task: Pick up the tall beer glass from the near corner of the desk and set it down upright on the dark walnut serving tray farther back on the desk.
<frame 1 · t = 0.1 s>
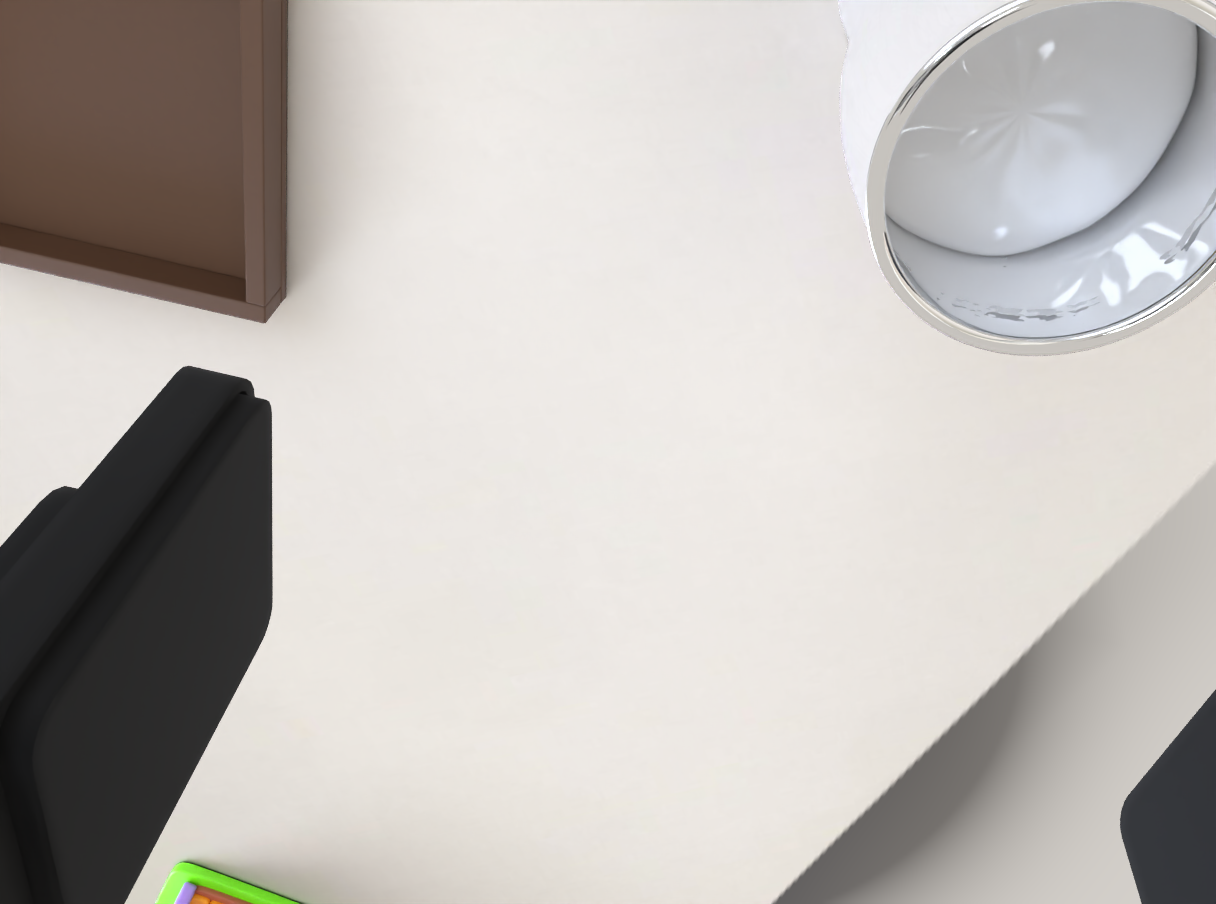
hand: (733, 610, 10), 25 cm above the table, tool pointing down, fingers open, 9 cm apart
tray: (101, 90, 35), on the table
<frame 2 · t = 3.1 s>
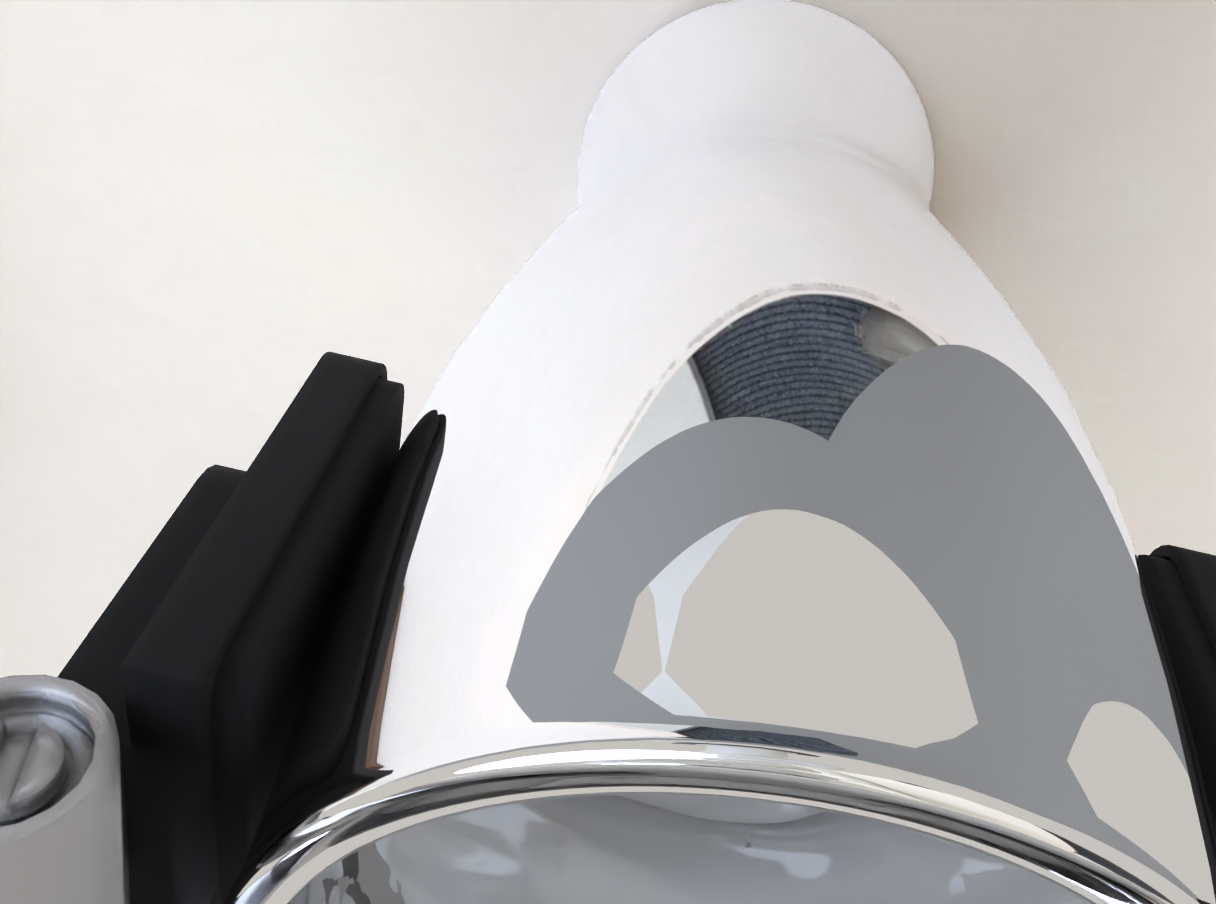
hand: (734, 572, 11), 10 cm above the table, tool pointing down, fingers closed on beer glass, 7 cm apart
beer glass: (752, 174, 19), on the table, touching gripper
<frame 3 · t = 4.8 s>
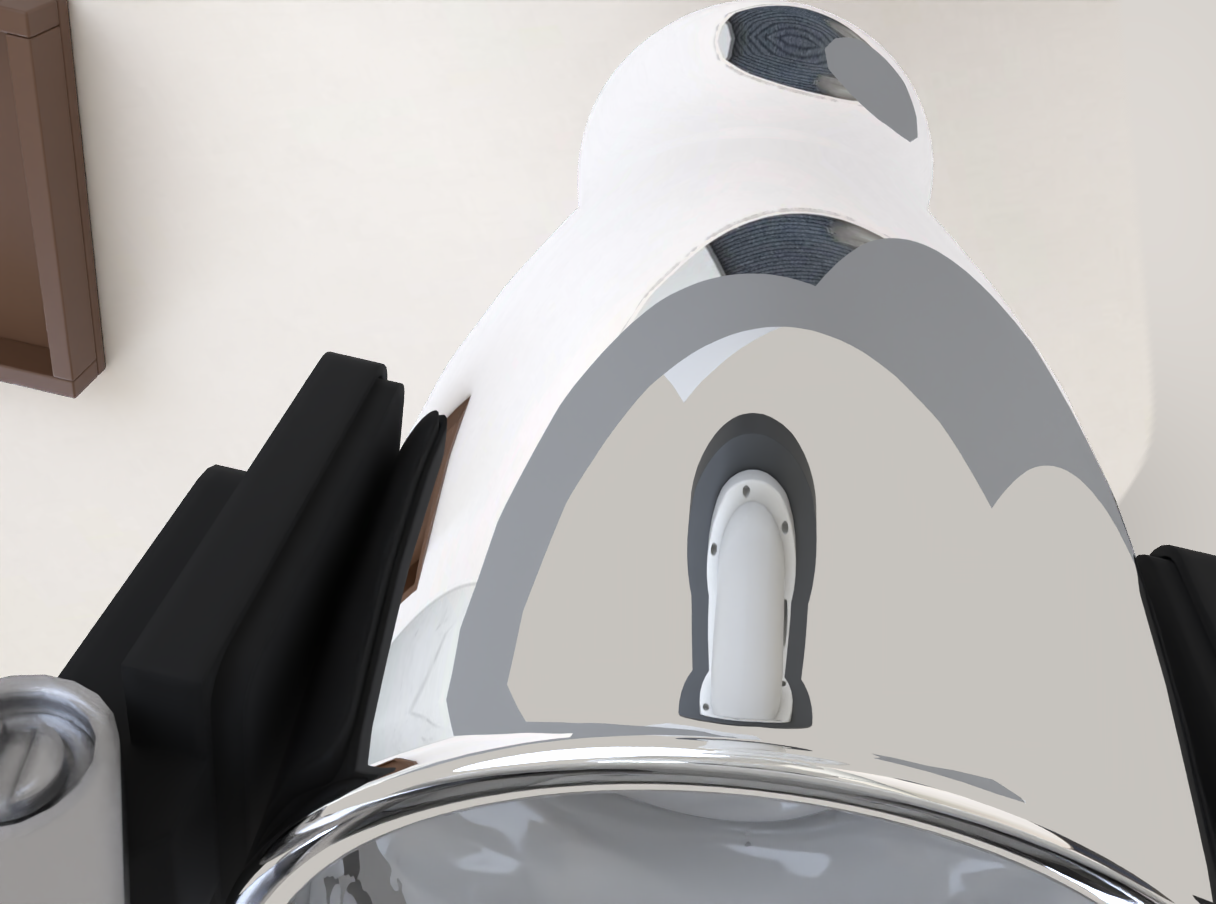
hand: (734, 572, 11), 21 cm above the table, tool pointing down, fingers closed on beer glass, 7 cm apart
beer glass: (751, 174, 19), point 11 cm above the table, touching gripper
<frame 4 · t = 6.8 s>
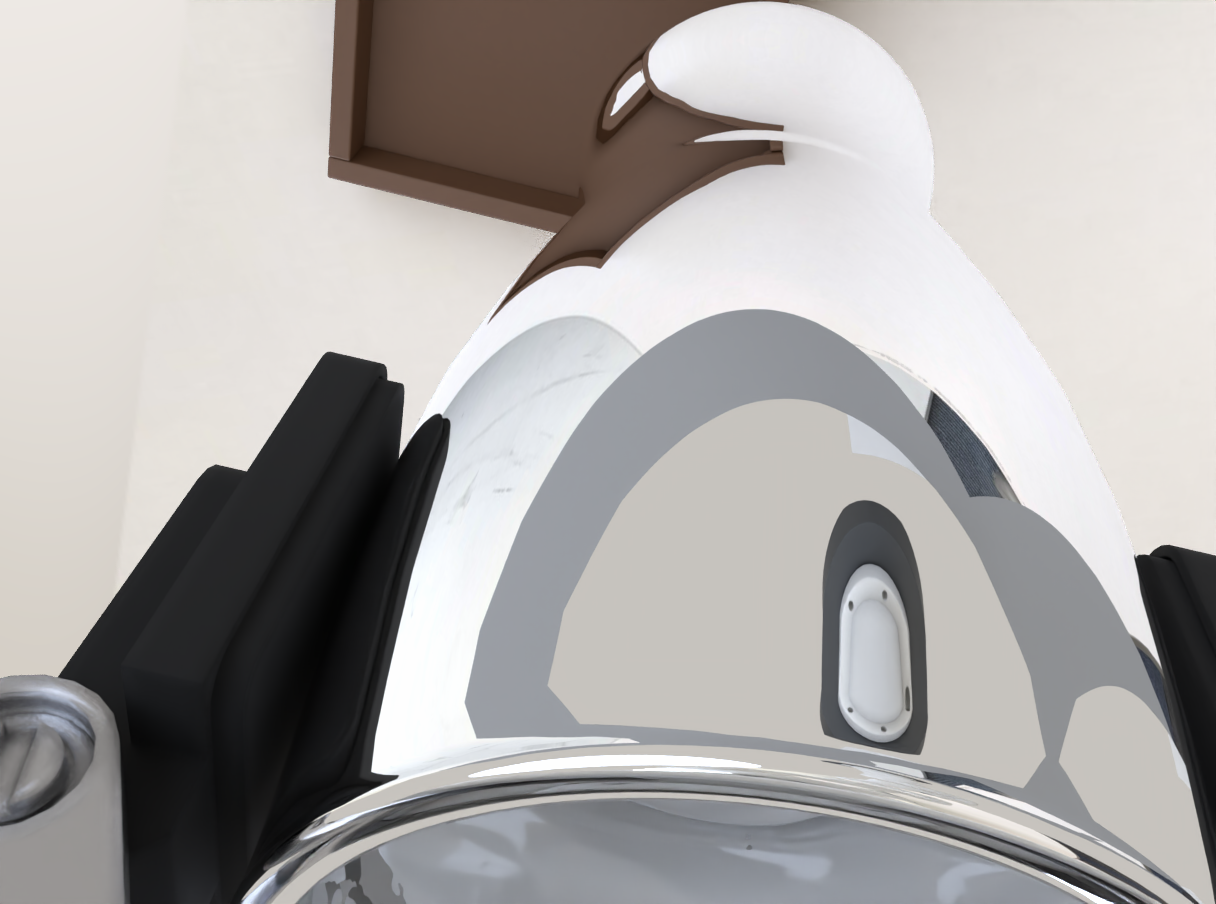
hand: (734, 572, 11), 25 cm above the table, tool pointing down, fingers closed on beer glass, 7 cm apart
beer glass: (752, 176, 19), point 14 cm above the table, touching gripper
tray: (563, 7, 31), on the table
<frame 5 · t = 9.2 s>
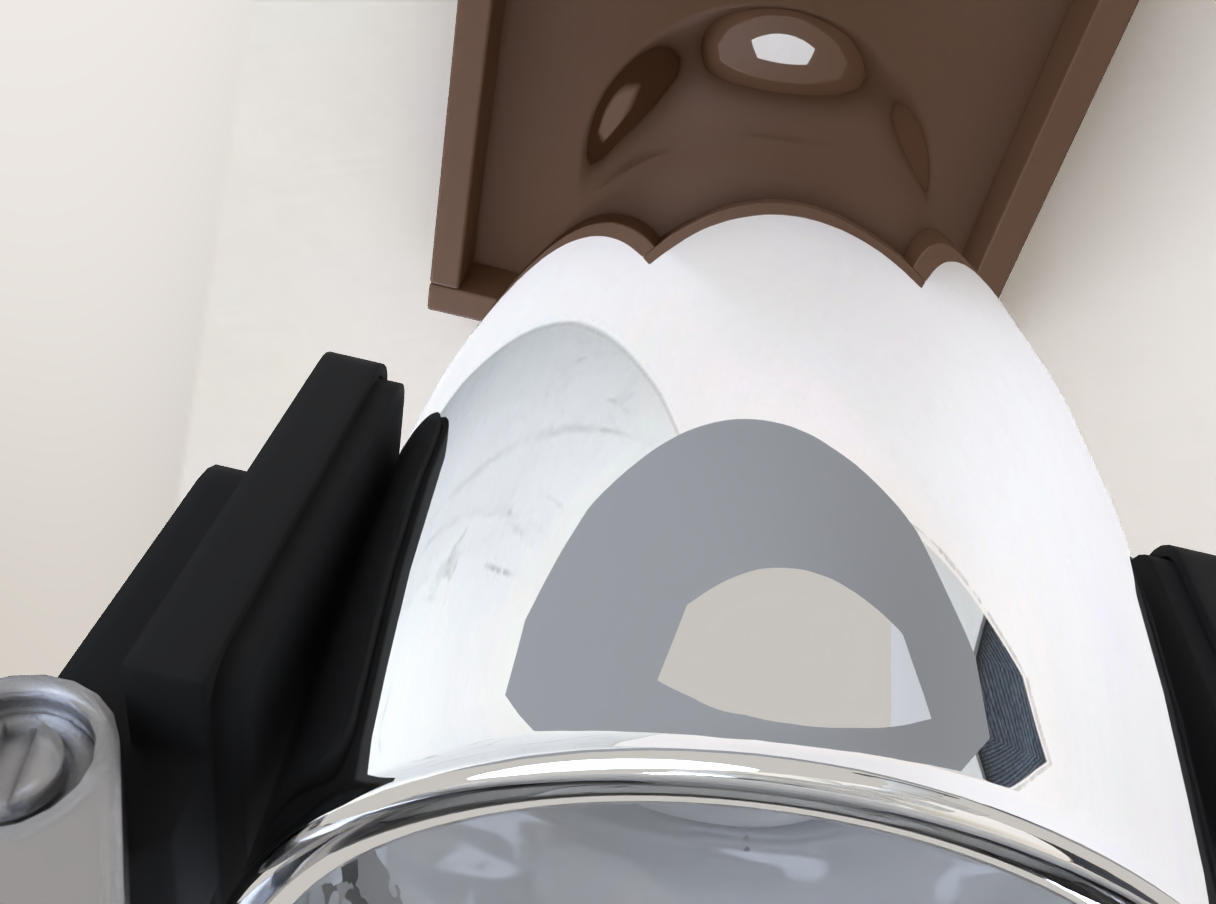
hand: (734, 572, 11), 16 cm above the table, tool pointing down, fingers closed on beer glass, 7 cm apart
beer glass: (751, 177, 19), point 5 cm above the table, touching gripper
tray: (755, 84, 23), on the table
when the fingers open (11 cm above the table, at t = 11.0 s): beer glass stays where it is, resting on tray.
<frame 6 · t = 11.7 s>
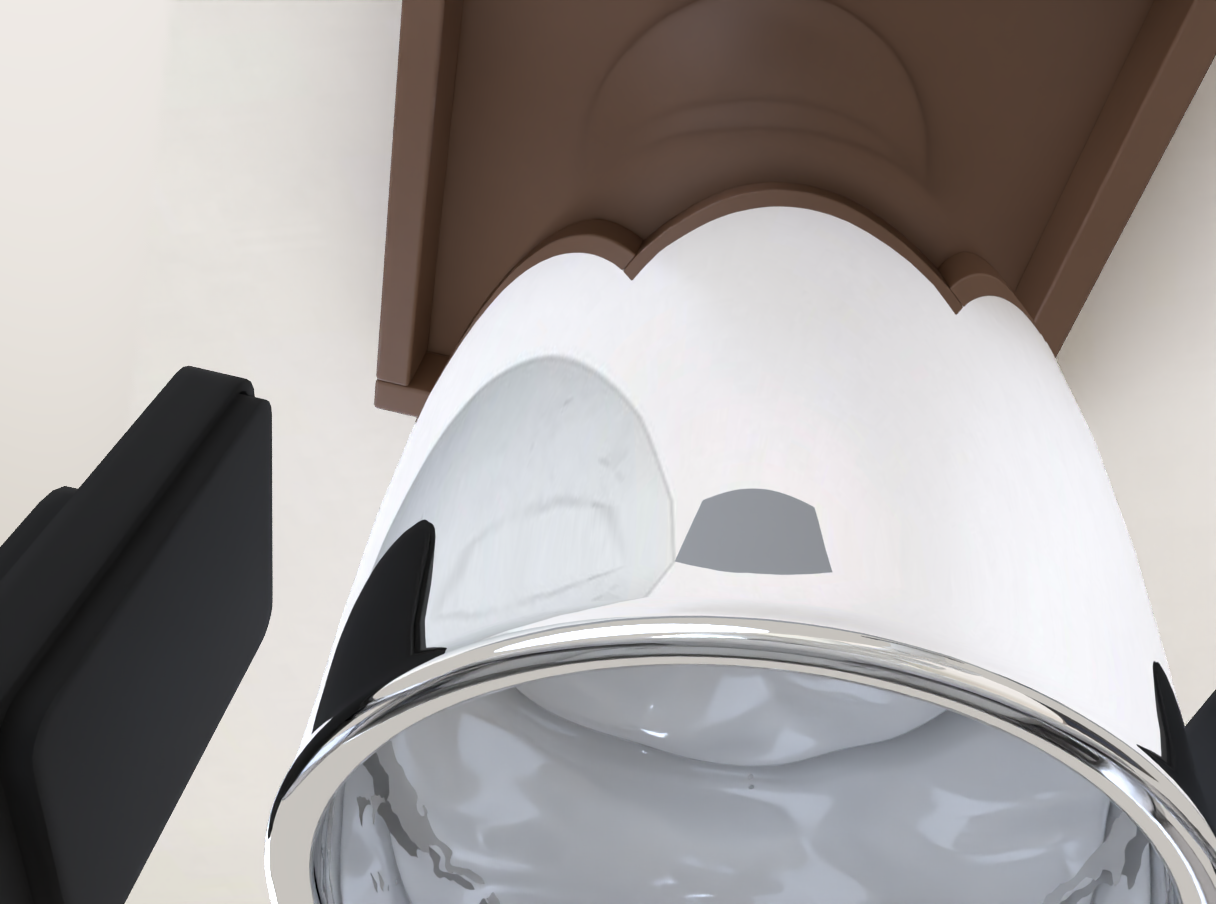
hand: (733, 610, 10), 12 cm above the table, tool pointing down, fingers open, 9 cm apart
beer glass: (752, 160, 20), resting on tray
tray: (749, 156, 20), on the table
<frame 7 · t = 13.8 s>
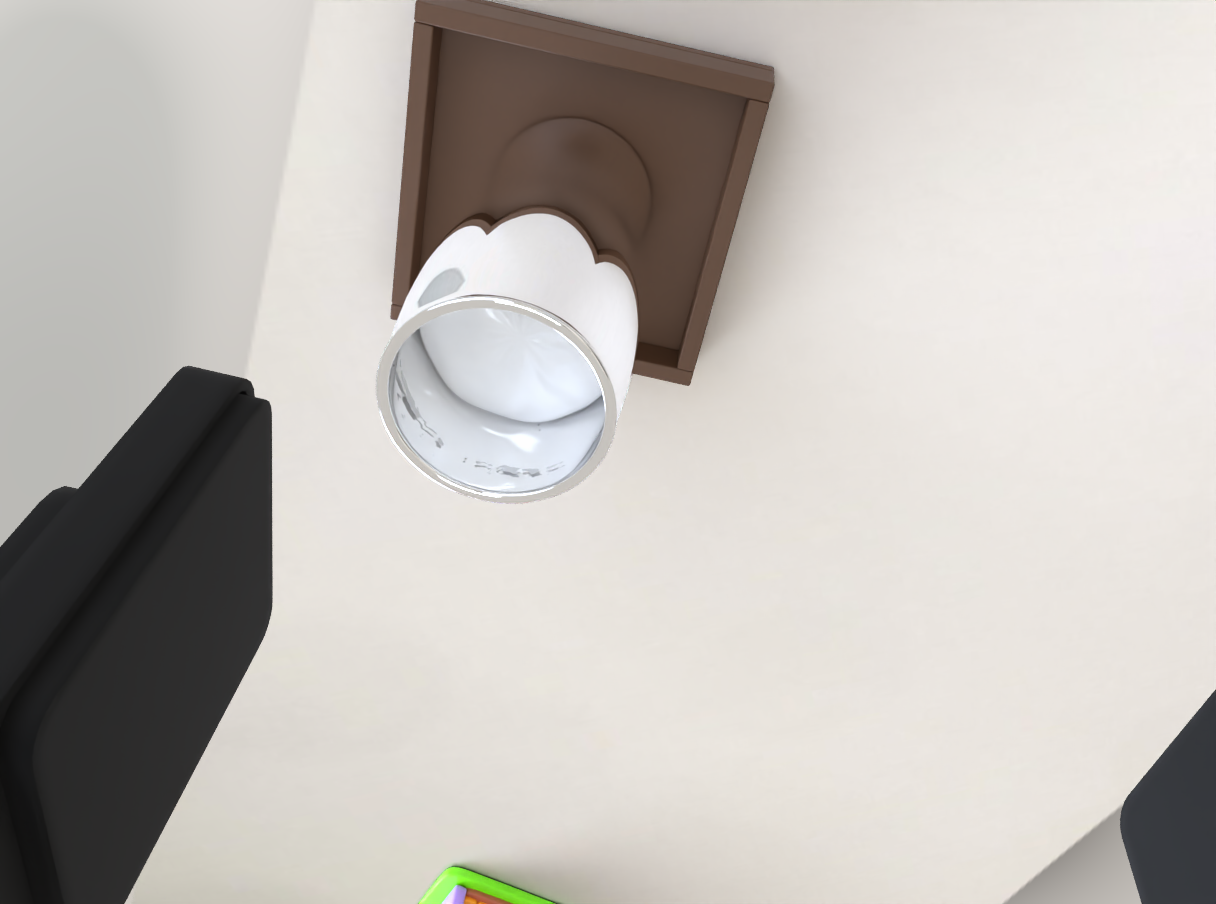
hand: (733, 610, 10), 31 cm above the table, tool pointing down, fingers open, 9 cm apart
beer glass: (573, 193, 41), resting on tray
tray: (572, 191, 41), on the table
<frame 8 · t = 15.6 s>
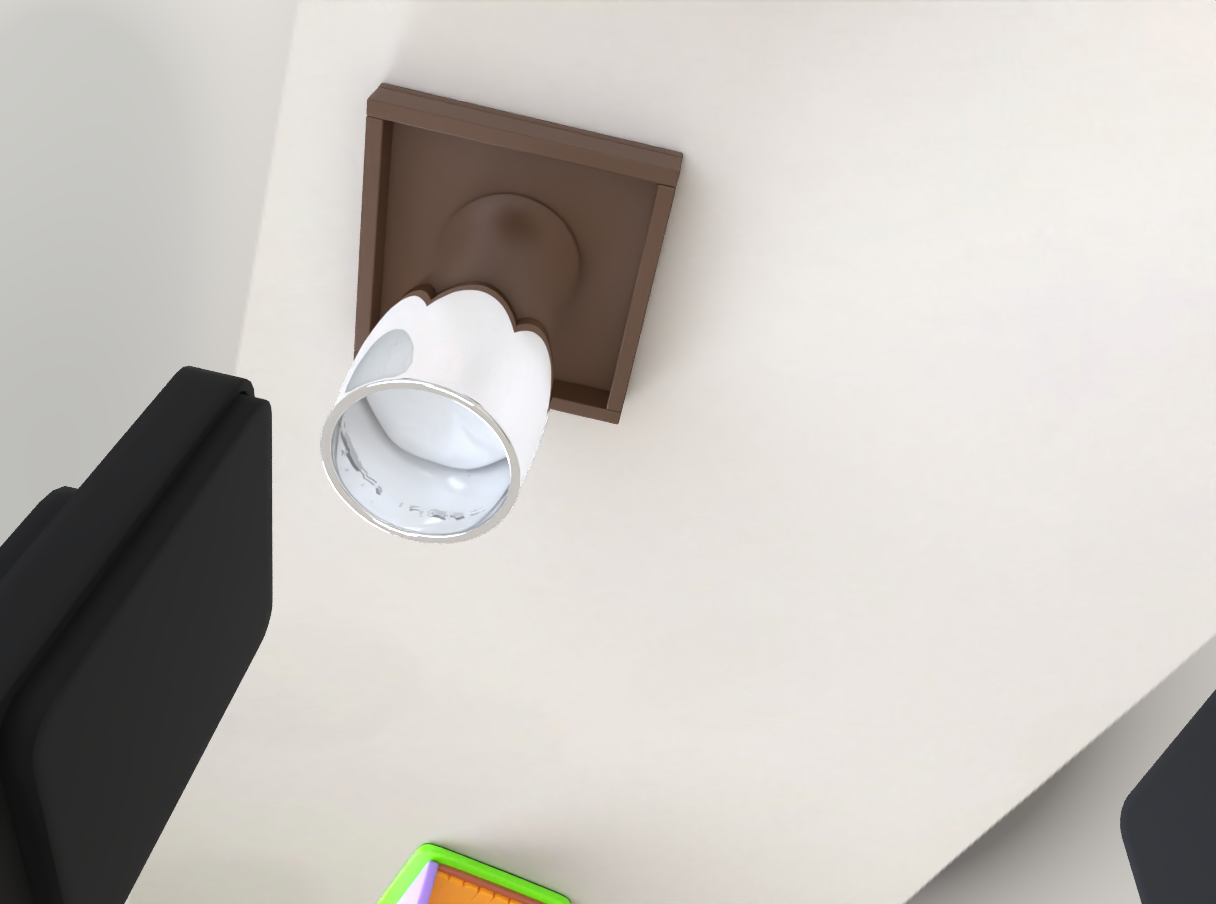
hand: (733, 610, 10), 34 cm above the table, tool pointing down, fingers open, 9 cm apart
beer glass: (512, 257, 46), resting on tray
tray: (512, 254, 46), on the table
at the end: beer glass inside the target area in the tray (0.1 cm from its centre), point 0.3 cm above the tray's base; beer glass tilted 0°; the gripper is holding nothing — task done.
